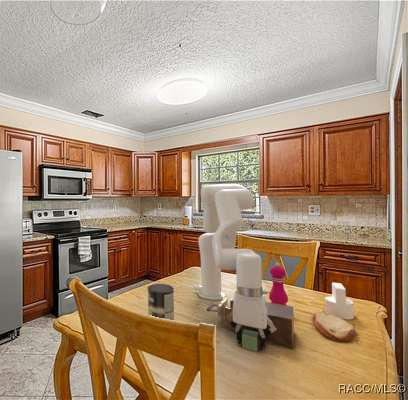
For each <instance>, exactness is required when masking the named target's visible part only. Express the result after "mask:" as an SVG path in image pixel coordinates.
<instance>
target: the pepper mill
mask: <svg viewBox="0 0 408 400" xmlns="http://www.w3.org/2000/svg"><path fill="white" fill-rule="evenodd" d="M274 265H275V266H271V267H270V269H269V274H270V275H271V277H270V278H271V281H272V287H271V289H270V292H269V294H268V298H269V300H270V303H275V304H281V305H286V306H288V305H287V303H288V302H289V297H288V294H287V291H286V289H285V287H284V286H285V285H284V282H285V277H286V275H287V272H286V270H285V268H284V267H282V266H281V264H280V263H279V262H276V263H275V264H274Z"/></svg>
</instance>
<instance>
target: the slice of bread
mask: <svg viewBox="0 0 408 400" xmlns="http://www.w3.org/2000/svg"><path fill="white" fill-rule="evenodd" d="M313 324H314V327H315V328H316V329H317V330H318V331H319V332H320V333H321V334H322V335H324V336H325V337H327V338H329V339H330V340H333V341H335V342H338V343H339V342H340V343H349V342H350V341H351V340H354V339H356V337H357V333H356V329H355V327H354V325H353V324H351V323H350V322H348V321H346V320H345V319H341V318H339V317H336V316H334V315H331V314H327V313H326V312H324V311H320V310H319V311H318V310H316V311H315V312H314V314H313Z"/></svg>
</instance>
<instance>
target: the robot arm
mask: <svg viewBox="0 0 408 400" xmlns="http://www.w3.org/2000/svg"><path fill="white" fill-rule="evenodd" d="M200 198H201V201H202V204H203V214H202V230H203V231H204V232H205V233H203V234H201V235H200V236H199V237H198V239H197V240H198V241H197V242H198V248H199V256H200V283H201V284H199V285H198V284H193V289H194V290H195V291H198V292H197V295H198V296H199V297H200V298H202V299H204V300H205V299H206V300H210V301H219V300H223V299H224V298H226V295H225V293H224V292H222V270H223V271H235V273H236V274H235V276H236V291H235V292H234V296H233V300H234V301H233V311H232V312H231V313H230V314H228V315H227V316H226V320H227V321H228V322H229V323H230V324H231V326H232V327H233V328H234V329H235V330H234V329H233V330H234V331H235V334H236V337H235V339H236V341H237V344H238V345H242V333H243V331H242V329H241V328H240V327H241V325H245V326H249V327H254V328H258V330H259V333H260V337H259V347H258V350H260V351H263V349H264V348H266V342H265V337H266V336H268V335H269V334H271V333H272V332H274V331H276V330H277V327H276V326H275V325H274V323H273V322H272V321H271V320H270V319H269V318H268V310H267V303H266V302H267V299H266V296H265V295H268V289H265V288H264V287H263V272H262V271H263V269H262V267H263V265H262V257H261V255H259V254H258V253H256V252H255V251H254V250H253V249H250V248H236V246H237V245H236V244H237V236H238V230H240V229H241V228H242V227H243V226H244V219H243V215H242V212H241V210H250V209H251V208H253V206H254V202H255V201H254V200H255V199H254V196H253V193H252V192H251V190H249V189H248V188H247V187H245V186H244V185H241V184H240V183H239V184H238V183H232V184H231V183H228V184H227V183H225V184H223V183H221V184H218V183H217V184H206V185H203V186H202V187H201V189H200ZM232 317H233V320H232ZM267 324H268V325H269V326H270V328H268V329H266V328H267ZM265 329H266V330H265Z"/></svg>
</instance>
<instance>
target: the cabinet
mask: <svg viewBox="0 0 408 400" xmlns="http://www.w3.org/2000/svg"><path fill="white" fill-rule="evenodd" d="M266 303H267V310H268V318H269V319H270V320H271V321H272V322H273V323H274V325H275V326H276V327H277V330H276V331H274V332H272V333H271V334H269V335H268V336H266V337H265V343H268V344H272V345H275V346H280V347H283V348H287V349H291V350H293V348H294V338H295V337H294V336H295V323H294V321H295V319H294V306H291V305H287V304H286V305H287V306H286V305H281V304H275V303H271V302H268V301H266ZM268 328H270V326H269V325H268V324H267V328H266V329H268ZM244 329H246V330H251V331H255V332H259V330H258V328H254V327H249V326H245V325H243V331H244ZM266 329H265V330H266ZM243 331H242V332H243ZM259 337H260V333H259Z"/></svg>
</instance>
